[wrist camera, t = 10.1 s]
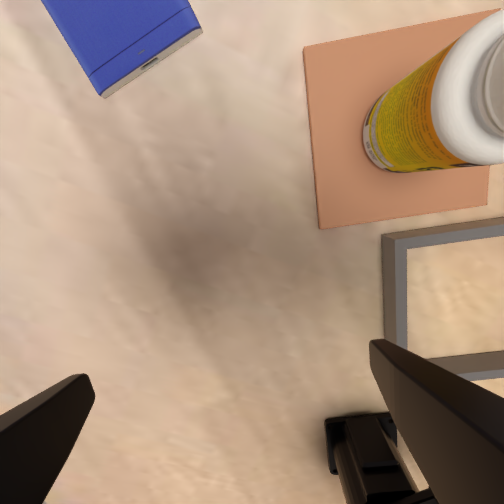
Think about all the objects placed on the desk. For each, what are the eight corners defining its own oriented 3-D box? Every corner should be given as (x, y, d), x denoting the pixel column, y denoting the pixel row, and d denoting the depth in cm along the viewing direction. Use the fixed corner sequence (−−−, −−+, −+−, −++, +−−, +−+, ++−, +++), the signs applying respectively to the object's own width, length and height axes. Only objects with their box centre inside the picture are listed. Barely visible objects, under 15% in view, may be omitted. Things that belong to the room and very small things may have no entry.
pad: (481, 204, 19) (487, 204, 18) (319, 228, 20) (320, 229, 19) (493, 13, 16) (500, 8, 16) (302, 50, 17) (304, 46, 16)
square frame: (535, 355, 22) (561, 371, 20) (385, 371, 23) (397, 388, 21) (554, 209, 19) (588, 212, 17) (381, 234, 20) (394, 239, 18)
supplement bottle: (377, 188, 18) (515, 190, 9) (346, 113, 17) (465, 16, 7) (454, 148, 18) (704, 100, 8) (427, 67, 16) (680, -110, 7)
